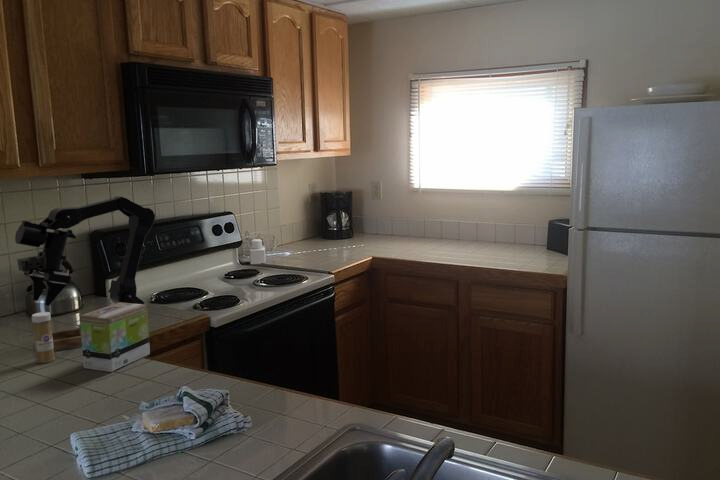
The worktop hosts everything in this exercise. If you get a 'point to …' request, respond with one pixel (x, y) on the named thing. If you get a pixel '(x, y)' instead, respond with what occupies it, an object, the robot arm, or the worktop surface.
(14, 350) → the worktop surface
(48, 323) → the sprinkles bottle
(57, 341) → the square wooden tray
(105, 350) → the tea box
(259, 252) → the medicine bottle
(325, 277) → the worktop surface
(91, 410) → the worktop surface
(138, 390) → the worktop surface
